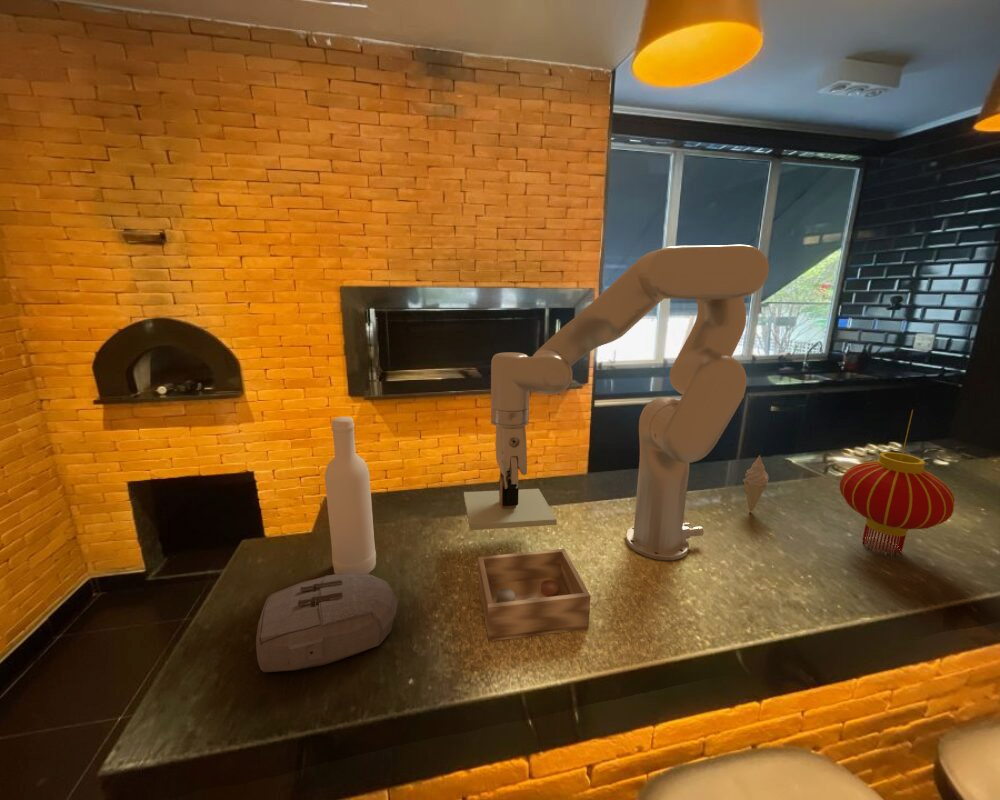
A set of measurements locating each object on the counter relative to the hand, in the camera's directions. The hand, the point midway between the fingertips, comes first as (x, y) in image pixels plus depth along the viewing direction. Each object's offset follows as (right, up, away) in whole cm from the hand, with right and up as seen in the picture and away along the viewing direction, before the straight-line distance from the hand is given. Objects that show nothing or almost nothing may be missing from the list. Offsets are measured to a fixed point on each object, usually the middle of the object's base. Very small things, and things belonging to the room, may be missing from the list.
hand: (508, 500), depth 88 cm
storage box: (+3, -14, -16) cm, 22 cm away
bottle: (-30, -12, -5) cm, 33 cm away
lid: (0, -2, 0) cm, 2 cm away
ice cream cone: (+60, -7, +16) cm, 62 cm away
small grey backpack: (-28, -16, -22) cm, 39 cm away
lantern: (+78, -10, +1) cm, 79 cm away
